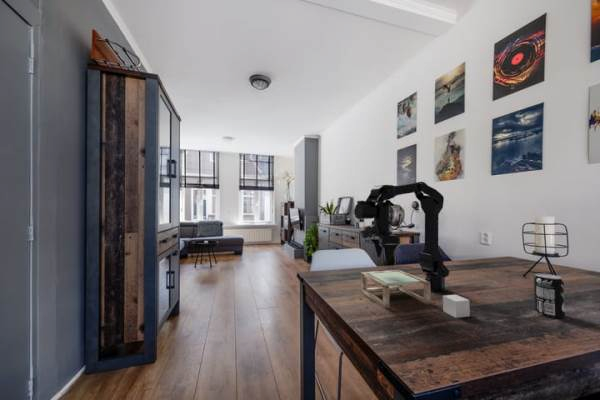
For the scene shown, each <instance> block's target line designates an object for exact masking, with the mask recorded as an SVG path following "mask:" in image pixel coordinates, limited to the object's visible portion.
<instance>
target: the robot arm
mask: <svg viewBox="0 0 600 400" xmlns="http://www.w3.org/2000/svg"><path fill="white" fill-rule="evenodd" d="M412 193H414V195H415V196H414V197H415V198H416V199H417V201H419V202H420V203H419V204H420V208H421V209H422V212H423V213H424V247H423V248H424V249H423V250H422V251H420V252H419V253H418V261H417V262H418V263H419V267H421V271H422V273H425V279H424V280H426V281H428V282H430V292H433V293H439V292H447V291H449V289H447V288H446V282H445V281H446V280H445V279H446V278H447V277H449V276H450V275H449V274H450V270H449V269H448V268H447V266H446V265H445V264H444V258H443V255H442V254H441V252H440V250H439V214H440V212H441V211H442V210H443V208H444V201H445V199H444V197H445V196H444V195H443V194H442V193H441V192H440V191H438V190H437V189H435V188H434V187H433V186H430V185H428V183H426V182H425V181H415V182H413V183H406V184H400V185H392V184H382V185H374V186H372V188H371V189H370V193H369V195H368V196H367V198H366V199H365V200H357V201H356V205H355V206H354V209H353V213H354V217H355V218H356V219H357V220H370V219H371V220H372V221H371V224H370V225H367V226H363V227H362V228H359V229H358V233H359V235H360V238H362V239H367V238H368V240H369V241H370V242H371V243H372V244H373V248H374V250H375V251H374V252H375V253H376V257H377V258H380V257H381V256H382V253H383V257H384V262H385V263H386V264H387V263H390V261H391V258H392V257H393V254H394V252H395V250H396V248H397V246H399V245H400V244H401V238H400V237H399V235H396V234H393V232H391V227H390V226H391V225H392V222H393V221H392V220H390V207H395V204H394V203H393V202H392V201H391V199H394V198H396V197H397V196H401V195H405V194H406V195H407V194H412Z"/></svg>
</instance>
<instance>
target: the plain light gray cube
mask: <svg viewBox="0 0 600 400" xmlns="http://www.w3.org/2000/svg"><path fill="white" fill-rule="evenodd" d="M442 312H444V313H445V314H448V315H449V316H452V317H453V318H455V319H457V318H466V317H470V316H471V311H470V300H469V299H467V298H465V297H463V296H460V295H458V294H447V295H442Z"/></svg>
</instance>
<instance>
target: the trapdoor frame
mask: <svg viewBox="0 0 600 400" xmlns="http://www.w3.org/2000/svg"><path fill="white" fill-rule="evenodd" d="M384 272H400V273H403V274H405V275H407V276H410V277H412V278H415V279H417V280H419V281H420V284H422V285H423V296H422V295H419V294H417V293H415V292H413V291H412V290H409V289H407V288H406V287H403V285H398V286H389V285H387V284H385V283H383V282H382V281H380V280H378V279H376V278H374V277H372V276H370V275H369V273H384ZM367 280H369V281H370V282H372V283H374V284H376V285H377V287H368V288H367ZM396 290H397V291H398V290H399V291H401V292H403V293H405V294H407V295H409V296H410V297H412V298H415V300H417V301H419V302H422V303H424V304H425V305H431V301H432V297H431V295H432V294H431V292H432V291H431V290H430V282H428V281H426V280H425V279H423V278H421V277H418V276H417V275H416V276H415V275H413V274H411V273H408V272H406V271H404V270H401V269H392V270H391V269H390V270H378V271H364V272H363V271H362V272H360V292H362V293H363V294H364V295H365V296H367V297H369V299H371V300H372V301H374V302H375V303H377V304H378V305H380V306H381V307H382V308H383V309H390V291H396ZM373 292H374V293H375V292H382V299H381V298H380V297H378V296H376V295H375V294H373Z"/></svg>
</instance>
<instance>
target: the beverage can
mask: <svg viewBox="0 0 600 400" xmlns="http://www.w3.org/2000/svg"><path fill="white" fill-rule="evenodd" d="M533 284H534V285H533V286H534V287H533V290H534V291H533V292H534V309H535V311H536V313H538V314H539V315H542V316H544V317H548V318H553V319H562V318H563V317H565V316H566V304H565V303H566V302H565V283H564V281H563V278H562V276H559V275H556V274H551V273H550V274H549V273H535V277H533Z"/></svg>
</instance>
